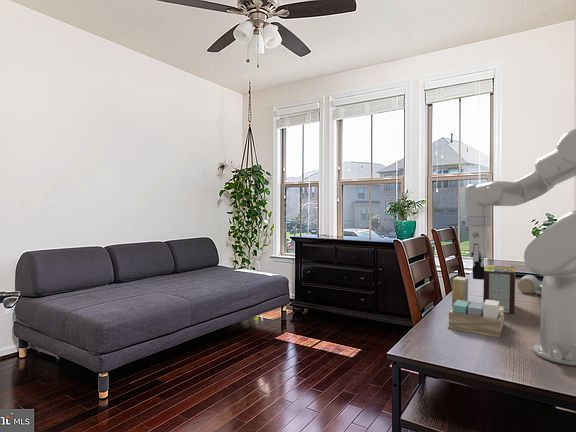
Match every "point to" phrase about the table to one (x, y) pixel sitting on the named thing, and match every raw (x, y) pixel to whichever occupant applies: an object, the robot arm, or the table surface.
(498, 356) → the table surface
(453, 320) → the tan wooden box
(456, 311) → the teal key
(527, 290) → the ceramic mug
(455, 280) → the skincare box
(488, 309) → the white rectangular block
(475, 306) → the slate key
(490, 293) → the protein box
